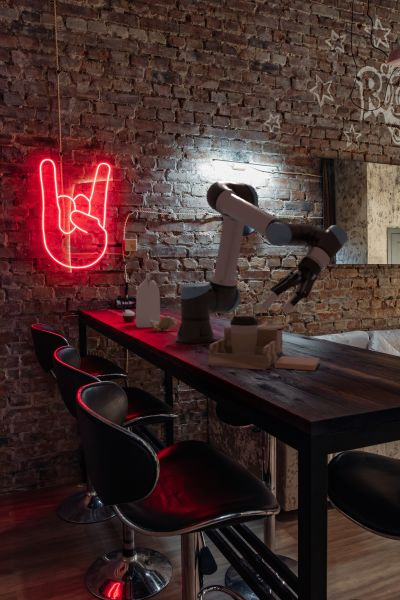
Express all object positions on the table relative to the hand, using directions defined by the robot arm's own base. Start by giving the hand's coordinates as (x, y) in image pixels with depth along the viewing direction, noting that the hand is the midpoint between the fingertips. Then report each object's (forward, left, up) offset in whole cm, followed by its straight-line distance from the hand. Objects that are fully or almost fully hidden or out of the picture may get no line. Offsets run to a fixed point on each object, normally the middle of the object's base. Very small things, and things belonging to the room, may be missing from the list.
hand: (273, 310), depth 175 cm
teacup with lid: (-17, -5, -17) cm, 24 cm away
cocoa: (-80, -93, -17) cm, 124 cm away
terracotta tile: (+6, +9, -17) cm, 20 cm away
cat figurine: (-54, -62, -17) cm, 83 cm away
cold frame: (+7, -8, -17) cm, 20 cm away
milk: (-70, -77, -17) cm, 106 cm away
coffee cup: (+7, -8, -17) cm, 20 cm away
